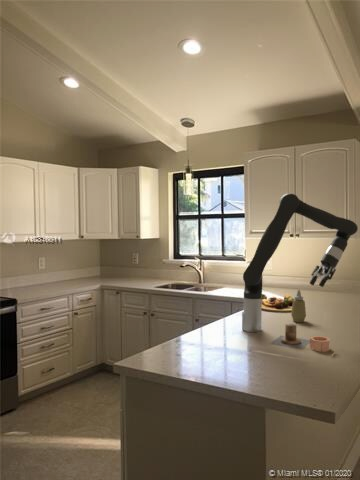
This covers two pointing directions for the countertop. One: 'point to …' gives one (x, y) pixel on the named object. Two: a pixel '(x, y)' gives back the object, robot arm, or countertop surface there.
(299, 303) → the squeeze bottle
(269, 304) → the wooden plate with food
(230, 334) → the countertop surface
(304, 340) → the rubber mat
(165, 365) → the countertop surface
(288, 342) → the walnut lid
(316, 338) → the terracotta bowl
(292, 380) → the countertop surface
